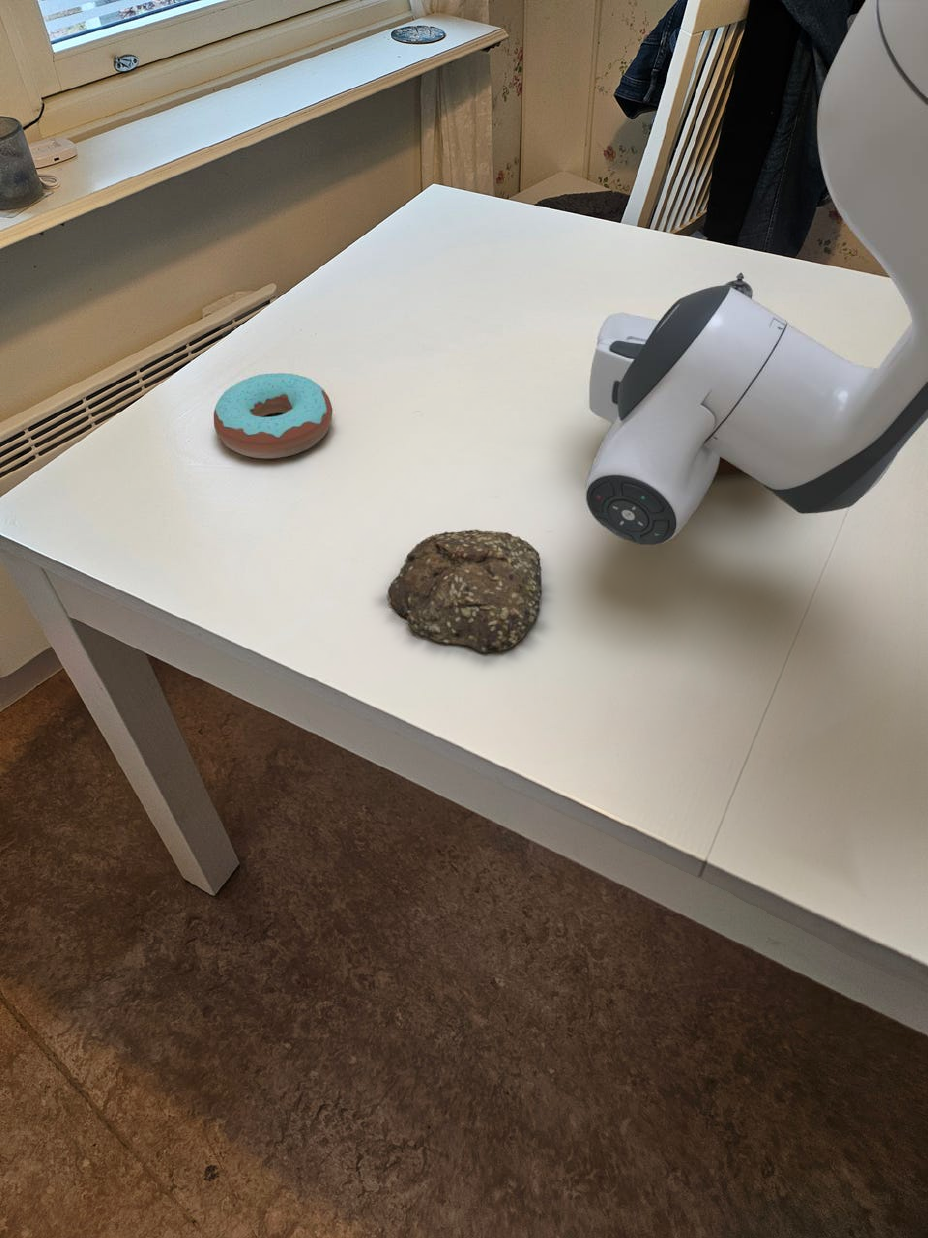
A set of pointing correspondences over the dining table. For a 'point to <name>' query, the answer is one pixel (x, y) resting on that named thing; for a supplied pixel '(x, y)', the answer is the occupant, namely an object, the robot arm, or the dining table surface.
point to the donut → (275, 434)
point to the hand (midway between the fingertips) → (730, 326)
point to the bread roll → (470, 589)
